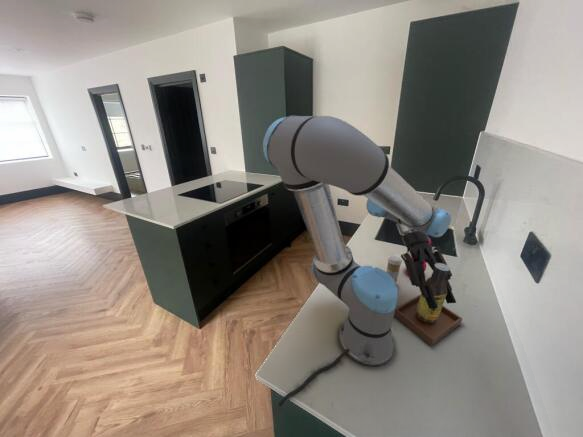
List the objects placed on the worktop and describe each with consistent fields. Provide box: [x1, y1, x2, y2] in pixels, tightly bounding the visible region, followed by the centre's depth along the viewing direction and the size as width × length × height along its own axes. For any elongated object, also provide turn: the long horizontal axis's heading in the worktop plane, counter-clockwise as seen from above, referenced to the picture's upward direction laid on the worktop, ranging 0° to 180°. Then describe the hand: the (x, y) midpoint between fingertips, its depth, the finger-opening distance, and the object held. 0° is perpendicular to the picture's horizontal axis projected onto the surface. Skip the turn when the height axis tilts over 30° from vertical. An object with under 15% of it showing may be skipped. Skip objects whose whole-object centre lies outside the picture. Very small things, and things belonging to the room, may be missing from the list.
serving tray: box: [394, 293, 463, 347], centre depth 75 cm, size 15×13×3 cm
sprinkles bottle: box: [385, 254, 403, 284], centre depth 88 cm, size 5×5×13 cm
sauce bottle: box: [416, 263, 451, 323], centre depth 71 cm, size 7×6×20 cm
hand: (442, 305), depth 68 cm, fingers closed on sauce bottle, 6 cm apart
